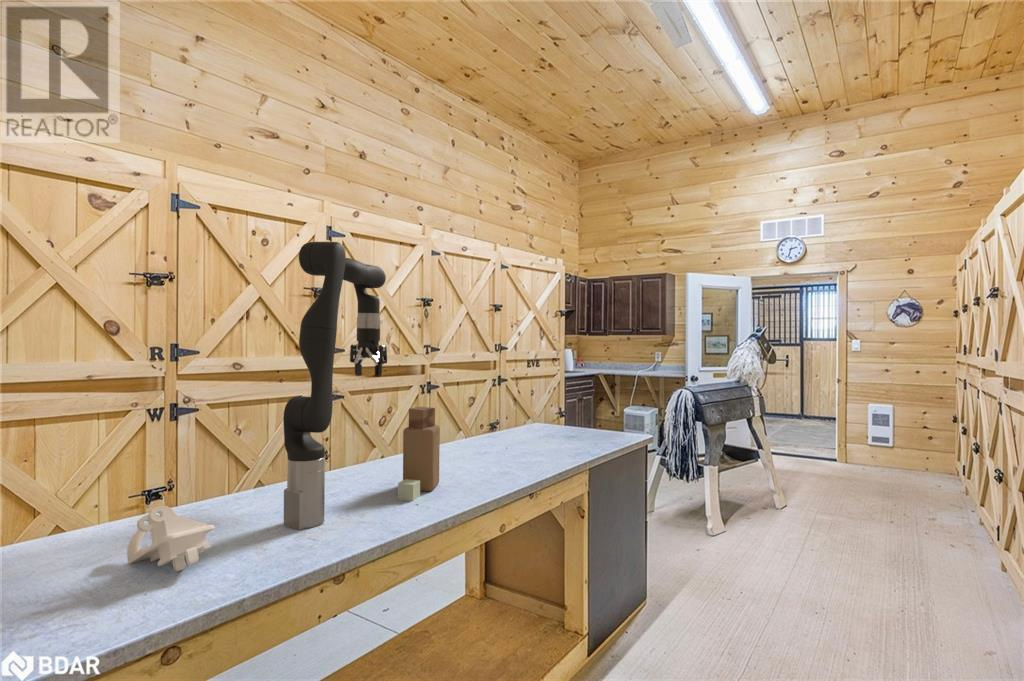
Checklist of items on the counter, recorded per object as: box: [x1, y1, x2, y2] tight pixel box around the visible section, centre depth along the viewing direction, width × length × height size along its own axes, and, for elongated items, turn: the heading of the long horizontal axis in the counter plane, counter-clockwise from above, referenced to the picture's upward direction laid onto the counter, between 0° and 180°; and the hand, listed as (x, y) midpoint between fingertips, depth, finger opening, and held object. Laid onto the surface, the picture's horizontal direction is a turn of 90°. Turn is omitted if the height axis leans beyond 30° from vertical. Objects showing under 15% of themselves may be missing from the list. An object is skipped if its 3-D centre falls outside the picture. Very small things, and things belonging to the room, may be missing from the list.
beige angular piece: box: [126, 505, 216, 572], centre depth 114 cm, size 20×11×13 cm, turn 54°
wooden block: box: [402, 424, 441, 492], centre depth 175 cm, size 10×10×20 cm
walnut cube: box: [408, 406, 436, 429], centre depth 175 cm, size 6×6×6 cm
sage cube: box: [397, 479, 421, 502], centre depth 164 cm, size 5×5×5 cm
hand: (368, 376), depth 177 cm, fingers open, 8 cm apart
